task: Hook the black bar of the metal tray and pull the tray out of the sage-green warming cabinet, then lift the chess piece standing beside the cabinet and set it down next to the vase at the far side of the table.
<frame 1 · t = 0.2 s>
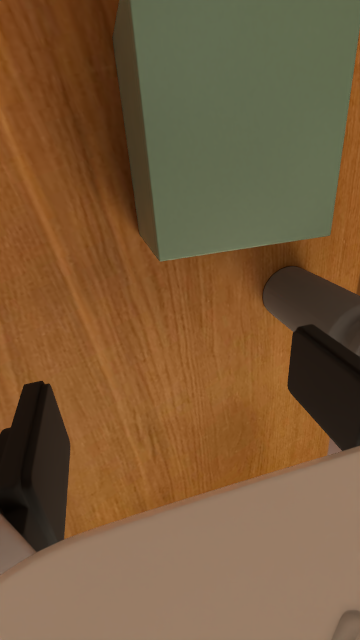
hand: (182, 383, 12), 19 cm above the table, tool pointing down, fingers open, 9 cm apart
bottle: (285, 290, 35), on the table
cabinet: (202, 142, 26), on the table
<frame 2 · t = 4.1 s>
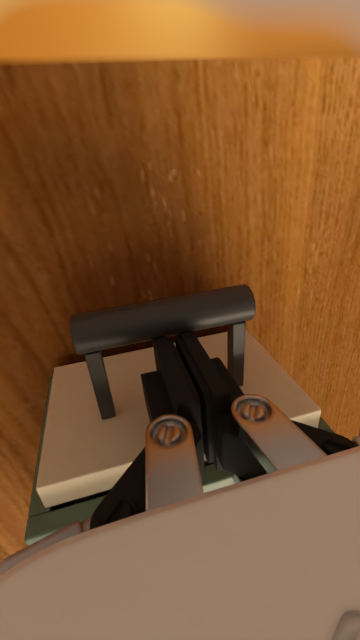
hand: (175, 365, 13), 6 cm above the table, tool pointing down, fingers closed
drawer: (176, 439, 17), point 5 cm above the table, slide at 0.0 cm
cabinet: (165, 430, 23), on the table
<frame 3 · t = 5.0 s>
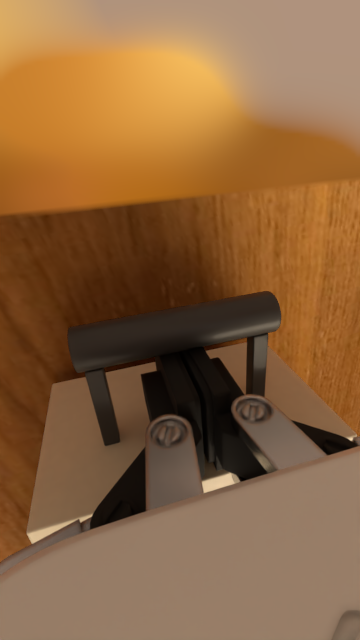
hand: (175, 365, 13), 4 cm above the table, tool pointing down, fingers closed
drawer: (187, 464, 15), point 5 cm above the table, slide at 5.5 cm, touching gripper
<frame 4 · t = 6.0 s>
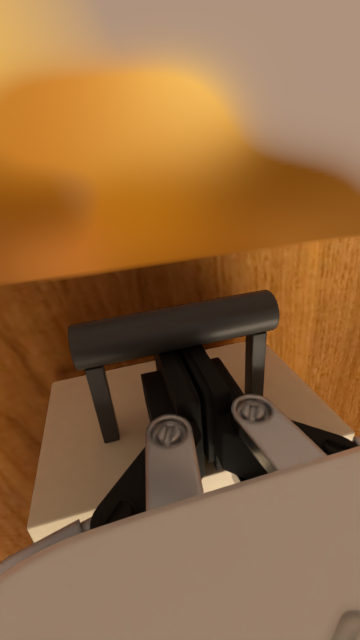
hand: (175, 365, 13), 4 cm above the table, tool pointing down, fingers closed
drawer: (186, 462, 15), point 5 cm above the table, slide at 8.4 cm, touching gripper
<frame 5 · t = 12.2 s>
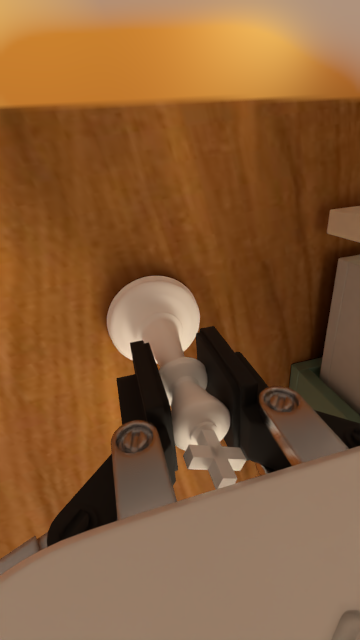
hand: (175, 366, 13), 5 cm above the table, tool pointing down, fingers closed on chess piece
chess piece: (153, 317, 17), on the table, touching gripper
cabinet: (353, 416, 25), on the table
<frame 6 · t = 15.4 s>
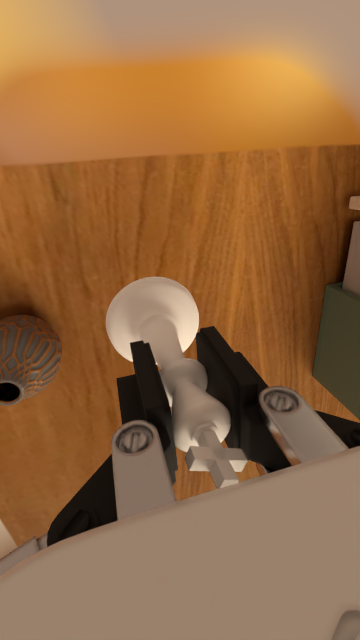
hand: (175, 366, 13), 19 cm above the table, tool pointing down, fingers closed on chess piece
vase: (27, 335, 31), on the table
chess piece: (152, 319, 17), point 15 cm above the table, touching gripper
cabinet: (359, 324, 41), on the table
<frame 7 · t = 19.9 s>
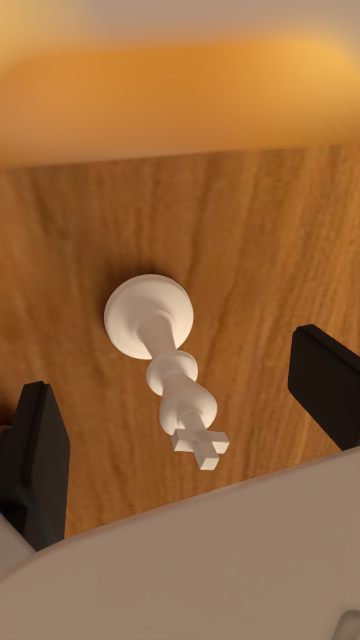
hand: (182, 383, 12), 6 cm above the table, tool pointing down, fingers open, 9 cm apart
chess piece: (148, 315, 18), on the table
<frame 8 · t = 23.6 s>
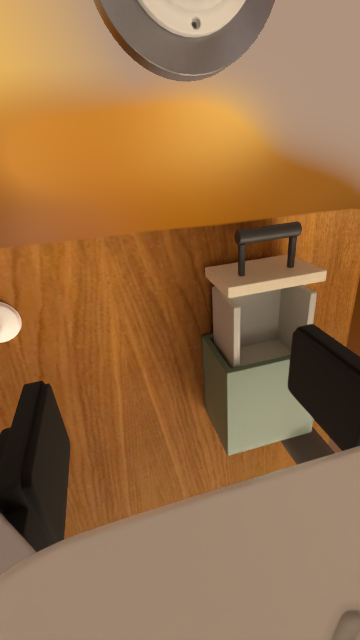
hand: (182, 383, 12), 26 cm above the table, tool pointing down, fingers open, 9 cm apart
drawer: (260, 299, 37), point 5 cm above the table, slide at 8.7 cm
bottle: (287, 422, 56), on the table
cabinet: (243, 366, 47), on the table
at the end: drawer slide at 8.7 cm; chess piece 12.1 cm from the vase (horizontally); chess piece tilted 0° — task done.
